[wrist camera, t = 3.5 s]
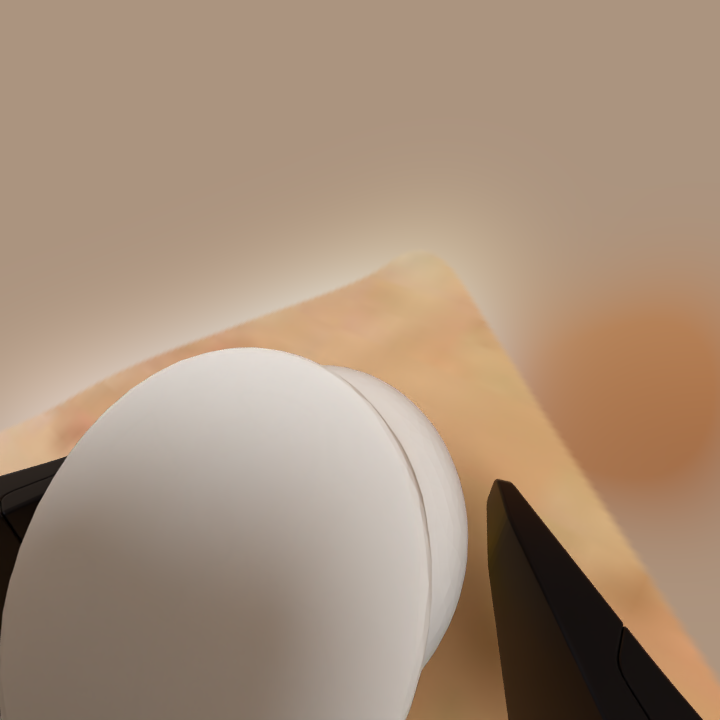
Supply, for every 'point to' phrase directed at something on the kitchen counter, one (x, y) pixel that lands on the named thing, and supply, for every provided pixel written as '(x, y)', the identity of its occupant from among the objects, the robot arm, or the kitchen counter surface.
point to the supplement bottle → (238, 552)
